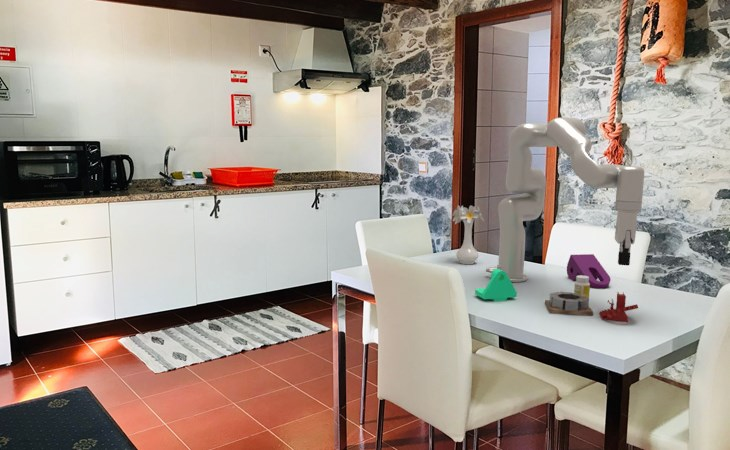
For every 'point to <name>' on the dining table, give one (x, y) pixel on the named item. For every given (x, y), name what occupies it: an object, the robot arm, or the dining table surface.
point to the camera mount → (497, 287)
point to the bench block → (559, 311)
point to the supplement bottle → (582, 285)
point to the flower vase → (467, 233)
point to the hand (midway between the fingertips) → (623, 264)
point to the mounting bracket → (588, 270)
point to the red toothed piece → (617, 310)
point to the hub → (568, 301)
